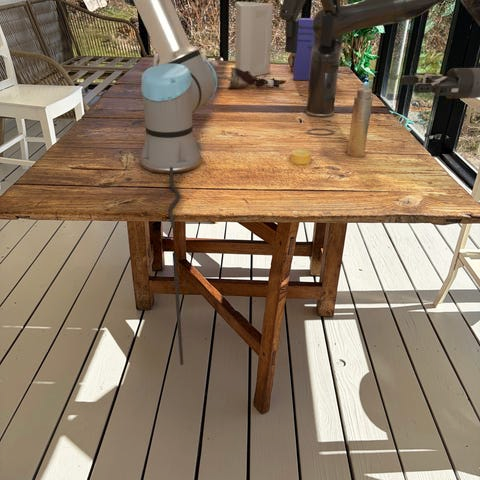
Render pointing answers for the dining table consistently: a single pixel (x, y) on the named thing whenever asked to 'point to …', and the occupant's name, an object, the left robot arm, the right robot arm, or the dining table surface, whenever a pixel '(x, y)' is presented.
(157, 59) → the toy
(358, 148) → the tan cylinder
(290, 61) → the anatomical model
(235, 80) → the figurine
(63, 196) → the dining table surface
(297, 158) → the lid
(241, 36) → the tall white pillar
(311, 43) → the cereal box
